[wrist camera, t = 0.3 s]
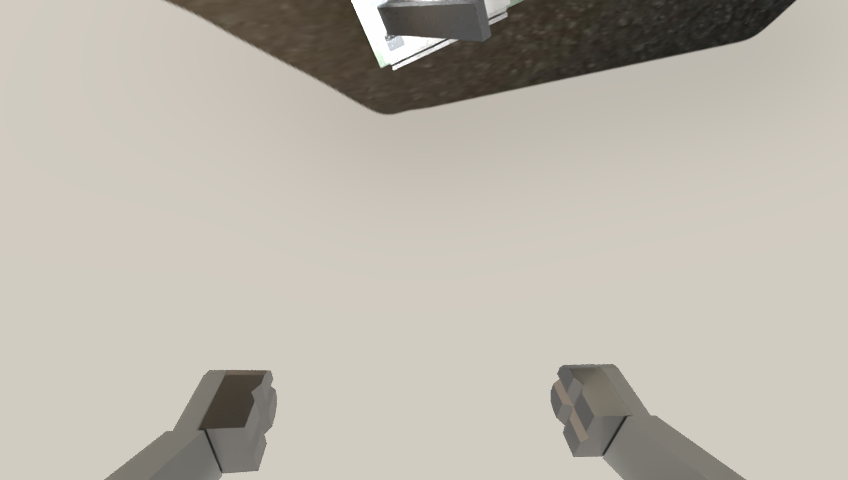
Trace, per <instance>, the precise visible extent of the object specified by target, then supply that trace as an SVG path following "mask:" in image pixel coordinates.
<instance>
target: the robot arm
mask: <svg viewBox="0 0 848 480" xmlns="http://www.w3.org/2000/svg"><path fill="white" fill-rule="evenodd" d="M557 374H558V376H559V378H560V379H559V380H558V381H557V382H555V383H554V384H553V386H552V390H551V403H552V407H553V410H554V413H555V415H556V418H558V419H559V420H560V421H561V422H562V423H563V424H564V425H565V427H564V431H563V434H564V436H565V439H566V441H567V443H568V445H569V448H570V449H571V452H572V454H573V456H574V457H587V456H604V457H603V459H604V460H605V461H606V462H607V463H608V464H609V465H610V466H611V467H612V468H613V469H614V470H615V471H616V472H617V473H618V474H619V475H620V476H621V477H622V478H623V479H624V480H745V479H744V478H743V477H741V476H740V475H739V474H737V473H736V472H734V471H733V470H732V469H730V468H729V467H727V466H726V465H724V464H723V463H722V462H720V461H719V460H717V459H716V458H715V457H713V456H712V455H710V454H709V453H708V452H706V451H705V450H703V449H702V448H701V447H699V446H698V445H696V444H695V443H693V442H692V441H691V440H689V439H688V438H686V437H685V436H684V435H682V434H681V433H679V432H678V431H677V430H675V429H674V428H672V427H671V426H669V425H668V424H667V423H665V422H664V421H663V420H661V419H660V418H658V417H657V416H651V415H650V414H649V413H648V411H647V410H646V408H645V407H644V406H643V404H642V402H641V401H640V399H639V398H638V397H637V395H636V394H635V392H634V391H633V389H632V388H631V386H630V385H629V383H628V382H627V381H626V379H625V378H624V376H623V375H622V373H621V372H620V370H619V369H618V368H617V367H616V366H615V365H613V364H606V365H605V364H603V365H594V364H590V365H588V364H586V365H563V366H562V367H560V368H559V371H558V373H557ZM272 380H273V377H272V374H271V371H266V370H261V371H260V370H257V371H256V370H209V371H208V372H207V373H206V374H205V375H204V376H203V378H202V379H201V381H200V383H199V385H198V387H197V388H196V390H195V392H194V394H193V395H192V397H191V399H190V401H189V403H188V404H187V406H186V408H185V410H184V412H183V413H182V415H181V417H180V419H179V421H178V422H177V424H176V426H175V428H174V430H173V431H166V432H165V433H163V434H162V435H161V436H160V437H158V438H157V439H156V440H155V441H153V442H152V443H151V444H150V445H148V446H147V447H146V448H144V449H143V450H142V451H140V452H139V453H138V454H137V455H135V456H134V457H133V458H132V459H130V460H129V461H128V462H126V463H125V464H124V465H123V466H121V467H120V468H119V469H118V470H116V471H115V472H114V473H112V474H111V475H110V476H109V477H107V478H106V479H105V480H219V479H220V478H221V476H222V473H234V472H247V471H258V470H259V466H260V463H261V460H262V456H263V454H264V450H265V447H266V444H267V443H266V439H265V436H264V434H265V433H266V432H267V431H268V430H269V429H270V428H271V427H272V424H273V421H274V417H275V412H276V406H277V396H276V390H275V389H274V388H272V387H271V383H272Z"/></svg>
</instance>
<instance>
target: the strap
mask: <svg viewBox="0 0 848 480" xmlns="http://www.w3.org/2000/svg"><path fill="white" fill-rule="evenodd" d="M377 10H378V12H379V15H380V17H381V20H382V22H383V25H384V27H385V30H386V32H387V35H396V36H411V37H425V38H440V39H454V40H469V41H485V40H486V39H487V38H489V37H490V36H491V31H490V26H489V21H488V16H487V11H486V7H485V2H484V0H433V1H417V2H400V3H384V4H381V5H379V6H377Z"/></svg>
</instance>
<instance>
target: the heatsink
mask: <svg viewBox="0 0 848 480" xmlns="http://www.w3.org/2000/svg"><path fill="white" fill-rule="evenodd" d="M351 1H352V3H353V5H354V8H355V10H356V12H357V14H358V17H359V19H360V21H361V24H362V26H363V28H364V30H365V33H366V35H367V37H368V40H369V42H370V44H371V46H372V49H373V51H374V53H375V56H376V58H377V60H378V62H379V65H380V67H381V68H382V67H384V66H386V65H388V64H391V66H392V68H393V70H396V69H398V68H400V67H402V66H404V65H406V64H408V63H410V62H412V61H415V60H417V59H419V58H421V57H423V56H425V55H427V54H429V53H432V52H434V51H436V50H438V49H440V48H442V47H444V46H446V45H448V44H451V43H453V42H455V41H457V40H454V39H440V38H425V37H411V36H396V35H387V32H386V30H385V27H384V25H383V22H382V20H381V17H380V15H379V12H378V10H377V6H379V5H381V4H384V3H400V2H417V1H433V0H351ZM521 1H523V0H484V2H485V7H486V11H487V16H488V21H489V25H491V24H493V23H495V22H497V21H499V20H501V19H504V18H506V17H508V16H507V12H505V11H506V8H508V7H510V6H513V5H515V4H517V3H519V2H521Z"/></svg>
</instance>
